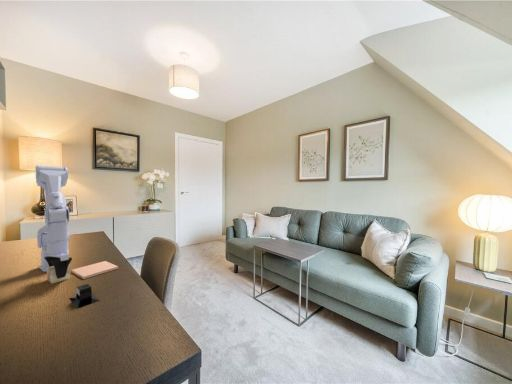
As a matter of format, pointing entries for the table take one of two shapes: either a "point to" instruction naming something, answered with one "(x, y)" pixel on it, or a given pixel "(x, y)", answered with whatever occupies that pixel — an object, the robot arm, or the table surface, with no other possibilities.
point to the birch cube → (52, 275)
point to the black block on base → (83, 296)
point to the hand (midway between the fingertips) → (58, 275)
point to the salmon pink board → (94, 269)
